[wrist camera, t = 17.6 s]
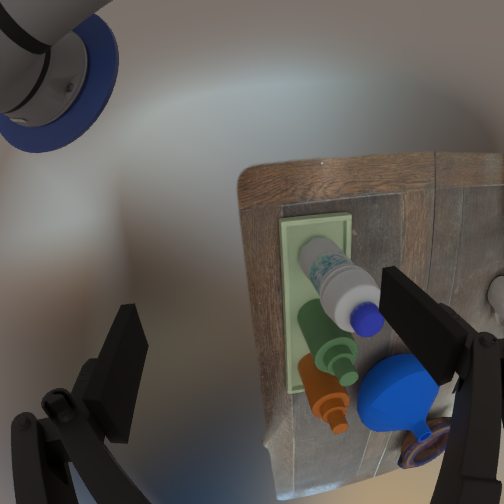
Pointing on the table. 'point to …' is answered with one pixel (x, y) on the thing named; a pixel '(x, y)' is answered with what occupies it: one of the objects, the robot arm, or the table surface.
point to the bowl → (425, 444)
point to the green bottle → (328, 343)
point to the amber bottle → (324, 394)
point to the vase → (397, 396)
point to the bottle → (342, 287)
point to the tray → (303, 278)
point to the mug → (497, 299)
